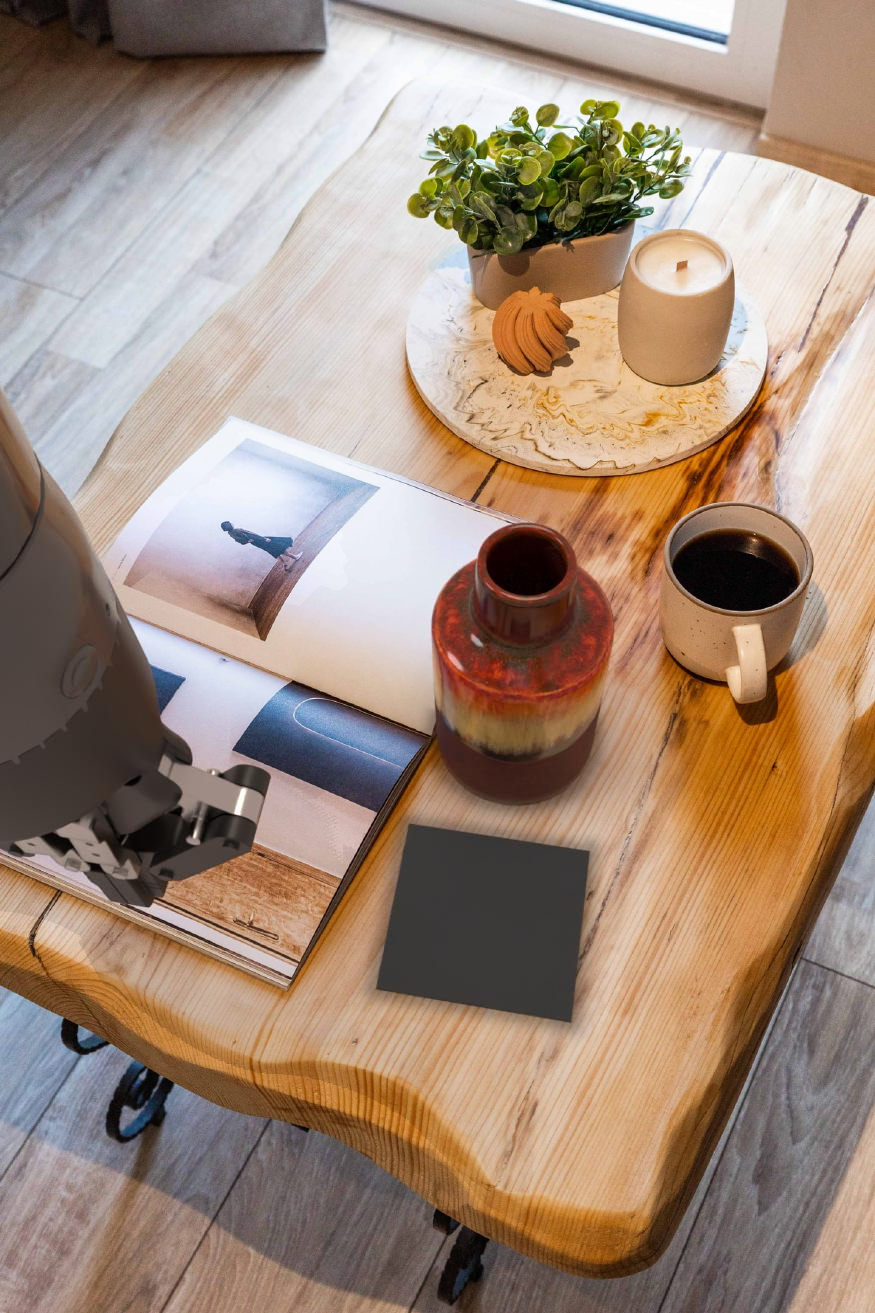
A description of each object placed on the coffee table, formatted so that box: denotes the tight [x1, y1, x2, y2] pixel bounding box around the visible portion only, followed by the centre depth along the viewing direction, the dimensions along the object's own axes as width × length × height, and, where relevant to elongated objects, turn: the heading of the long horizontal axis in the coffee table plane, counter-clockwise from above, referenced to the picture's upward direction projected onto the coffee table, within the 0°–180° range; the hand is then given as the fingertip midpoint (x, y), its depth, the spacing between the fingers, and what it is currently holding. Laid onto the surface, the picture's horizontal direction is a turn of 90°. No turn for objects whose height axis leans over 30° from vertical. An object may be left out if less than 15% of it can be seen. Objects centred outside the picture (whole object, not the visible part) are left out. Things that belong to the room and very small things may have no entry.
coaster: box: [375, 823, 591, 1023], centre depth 70 cm, size 12×11×1 cm
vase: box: [430, 522, 615, 806], centre depth 68 cm, size 11×11×20 cm
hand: (140, 880), depth 42 cm, fingers closed
